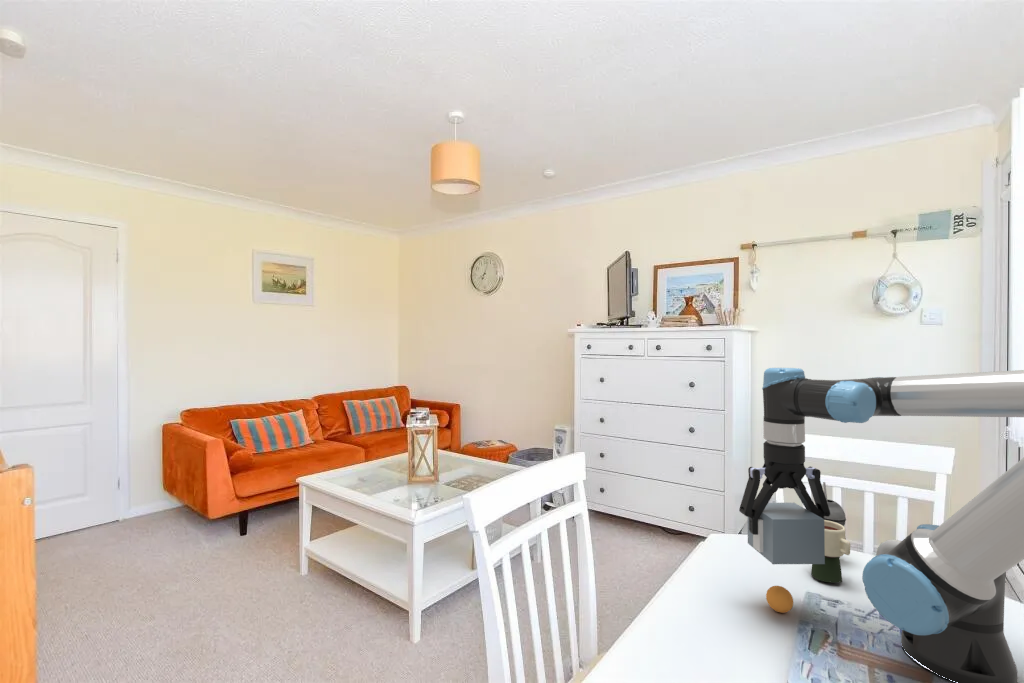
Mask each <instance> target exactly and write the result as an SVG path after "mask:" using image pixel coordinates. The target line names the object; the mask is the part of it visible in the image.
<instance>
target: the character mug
mask: <svg viewBox="0 0 1024 683" xmlns="http://www.w3.org/2000/svg"><path fill="white" fill-rule="evenodd" d="M824 535H825V564H811V568H810V574H811V576H812V578H814V579H816V580H819V581H820V582H824V583H843V574H842V567H841V559H840V558H839V557H843V556H844V555H846V556H850V554H851V542H850V541H849V540H847V539H846V527H845V525H844V526H843V525H841V524H839V523H836V522H832V521H827V520H824Z"/></svg>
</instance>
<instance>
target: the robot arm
mask: <svg viewBox="0 0 1024 683" xmlns="http://www.w3.org/2000/svg"><path fill="white" fill-rule="evenodd" d="M762 383H763V384H762V388H761V389H762V399H763V401H762V402H763V422H762V423H763V425H762V426H763V439H764V440H765V441H764V442H763V461H764V463H763V465H762V467H753V466H749V467H748V478H747V482H746V485H745V488H744V493H743V496H742V500H741V502H740V506H739V513H741V514H742V515H744V516H745V517H747V518H748V517H749V531H750V532H751V533H752V534H753V547H754V548H755V549H756V550H757V551H756V550H755V549H754V548H753V547H752V548H753V549H754V550H755V551H756V552H758V551H759V552H763V520H762V519H760V516H761V514H762V512H763V511H764V509H765V507H766V506H767V504H768V503H770V500H771V499H772V497H773V495H774V494H775V493H776V492H777V491H778V490H780V489H781V490H783V489H786V488H787V489H792V490H794V491H795V494H796V495H797V496H798V498H799V500H800V502H801V503H802V504H803V508H805V509H807V510H809V511H810V512H812V513H814V514H816V515H818V516H819V517H821V518H823V519H824V516H830V510H829V507H828V504H827V501H826V497H825V494H824V487H823V484H822V482H821V474H822V473H821V472H822V471H821V470H820V469H818V468H816V467H813V466H808V467H806V466H805V462H806V446H805V445H804V443H805V442H806V429H805V428H806V427H805V426H806V425H805V424H806V423H805V422H806V421H805V420H806V418H814V419H815V418H817V419H822V420H829V421H837V422H840V423H844V424H847V423H853V424H855V423H856V424H864V423H866V422H869V421H870V418H873V417H961V418H963V417H965V418H966V417H969V418H970V417H971V418H975V417H976V418H1024V369H1018V370H1017V369H1016V370H1015V369H1014V370H1001V371H999V370H997V371H983V372H982V371H981V372H963V373H962V372H961V373H959V372H958V373H944V374H925V375H923V374H921V375H907V376H905V375H904V376H895V377H894V376H887V377H880V376H877V377H869V378H868V377H867V378H853V379H834V380H833V379H811V378H806V375H805V371H804V370H803V369H802V368H796V367H768V368H767V369H765V370H764V372H763V382H762ZM763 475H764V476H765V480H764V481H763V483H762V486H761V488H760V483H761V479H763ZM804 477H806V478H807V482H808V485H809V488H810V491H811V495H812V498H813V499H812V498H811V495H810V494H809V493H808V491H807V487H806V486H805V484H804V482H803V481H802V480H803V478H804ZM759 488H760V491H759ZM758 491H759V492H758ZM815 505H816V506H815ZM900 541H901V542H900V543H899V544H898V545H896V546H895V547H894V548H893V549H892V550H890V551H889V552H887V553H886V554H881V555H878V556H876V555H875V556H873V557H872V558H871V559H870V560H869V561H868V562H867V563H866V564H865V566H864V567H863V571H862V582H863V586H864V591H865V594H866V596H867V598H868V599H869V601H870V603H871V604H872V606H873V608H874V609H875V610H876V611H877V612H878V613H879V615H881V616H882V617H883V618H884V619H885V620H886V621H888V622H889V623H890V624H892V625H893V626H894V627H896V628H898V629H900V630H901V634H900V635H901V636H900V638H901V639H900V644H901V643H902V646H903V648H904V649H905V651H906V652H907V653H908V654H909V655H910V656H912V657H913V658H914V659H916V660H917V661H918V662H920V663H921V664H922V665H924V666H926V667H927V668H929V669H930V670H932V671H933V672H935V673H937V674H938V675H940V676H943V677H945V678H947V679H950V680H952V681H955V682H958V683H1018V668H1017V664H1016V662H1015V659H1014V657H1013V654H1012V652H1011V650H1010V646H1009V643H1008V641H1007V638H1006V636H1005V632H1004V631H1005V630H1004V629H1005V628H1004V625H1005V622H1004V621H1005V596H1006V593H1005V592H1006V572H1008V571H1009V570H1010V569H1012V568H1014V567H1016V565H1017V564H1019V563H1021V562H1022V561H1024V457H1022V458H1021V459H1020V460H1019V461H1017V462H1016V463H1015V464H1013V465H1012V466H1011V467H1010V468H1009V469H1008V470H1006V471H1004V473H1003V474H1002V475H1000V476H999V477H998V478H996V479H995V480H994V481H993V482H992V483H990V484H989V485H988V486H987V487H985V488H984V489H983V490H982V491H980V492H979V493H978V494H976V495H975V496H974V497H973V498H971V500H969V501H968V502H967V503H966V504H965V505H963V506H962V507H961V508H960V509H958V510H957V511H955V513H953V514H952V515H950V517H949V518H947V519H946V520H945V521H944V522H942V523H941V524H939V525H937V524H931V523H925V524H923V523H922V524H919V525H917V526H916V529H915V530H913V531H912V532H911V533H910V534H909V535H907V536H906V537H905V538H903V540H900ZM759 552H758V553H759ZM902 646H901V647H902ZM940 676H939V677H940Z"/></svg>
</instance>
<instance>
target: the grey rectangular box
mask: <svg viewBox="0 0 1024 683" xmlns="http://www.w3.org/2000/svg"><path fill="white" fill-rule="evenodd" d="M760 519H762V520H763V552H759V551H757V550H756V549H755V548H754V547H753V534H752V533H751V532H750V531H749V517H747V545H749V546H750V547H752V548H753V549H754V550H755V551H756V552H757V553H759V554H760V555H761V556H762V557H763V558H764V559H766V560H767V561H768V562H770V563H771V564H772V565H812V564H825V535H824V519H823V518H821V517H819V516H818V515H816V514H814V513H812V512H810V511H809V510H807V509H806V508H805V507H804V506H801V505H800V504H798V503H795V502H768V504H767V506H766V507H765V509H764V511H763V512H762V514H761V516H760Z"/></svg>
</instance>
